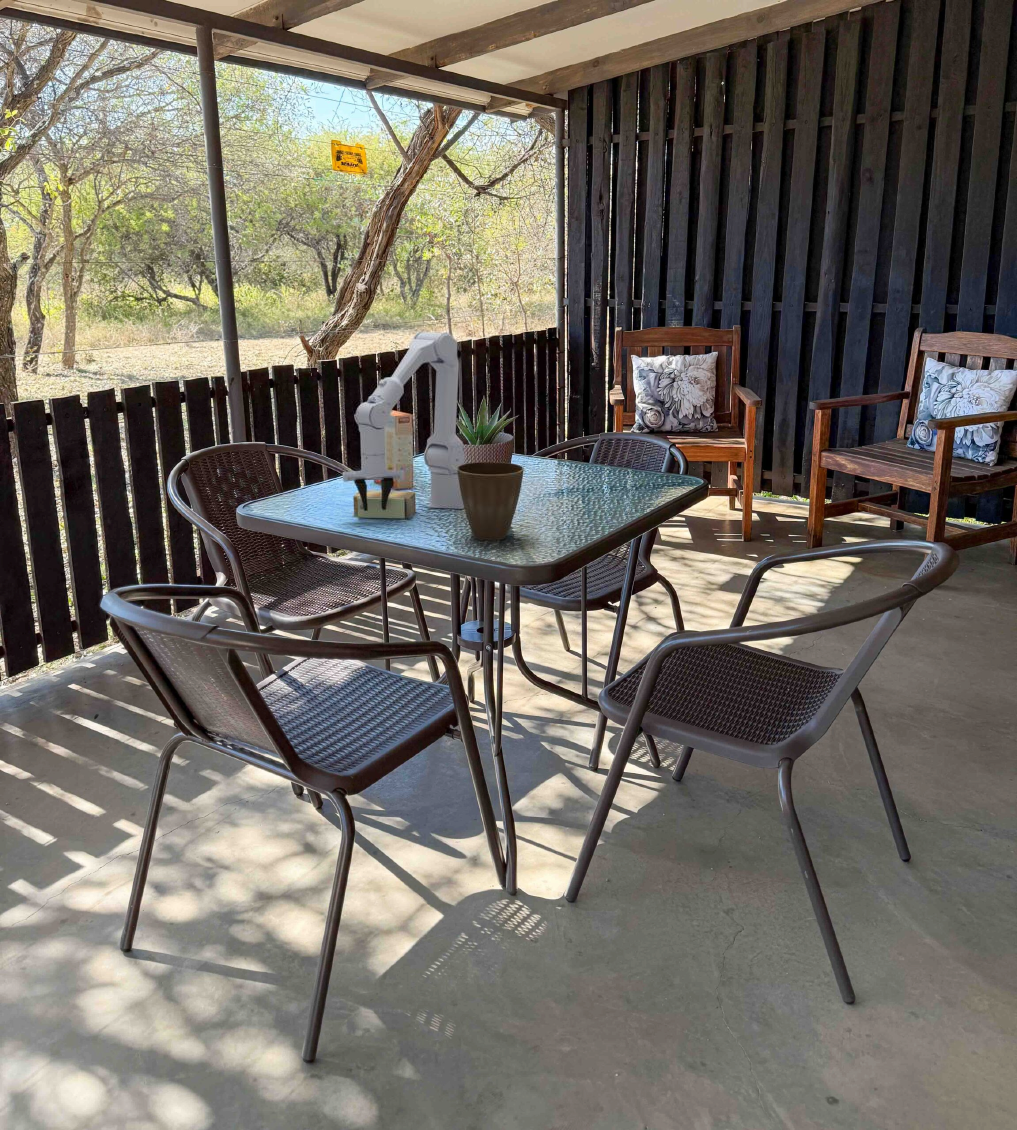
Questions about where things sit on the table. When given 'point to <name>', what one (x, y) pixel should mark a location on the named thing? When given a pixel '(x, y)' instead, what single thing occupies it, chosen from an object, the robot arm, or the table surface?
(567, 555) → the table surface
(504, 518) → the plant pot
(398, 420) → the cracker box
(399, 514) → the door
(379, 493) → the tan wooden crate
